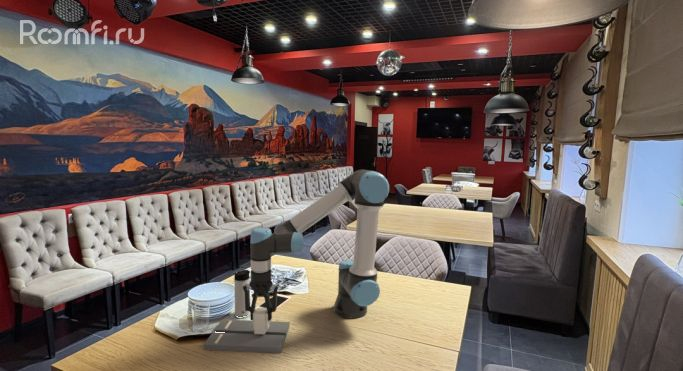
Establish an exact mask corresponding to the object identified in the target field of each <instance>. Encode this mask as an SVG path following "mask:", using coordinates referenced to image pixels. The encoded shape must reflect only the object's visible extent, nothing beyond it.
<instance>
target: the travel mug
mask: <svg viewBox="0 0 683 371" xmlns="http://www.w3.org/2000/svg"><path fill="white" fill-rule="evenodd" d="M250 274H251V270H249V269H241V270H238V271H236V272H234V278H233V279H234V281H233V282H234V283H233V284H234V290H233V291H234V292H233V293H234V316H235V315H236V316H238V317H243V316H247V315H248V314H249V313H250V312H249V311H246V310H245V292H244V290H243V286H244V285H245V284H249V283H250ZM250 289H251V288H250ZM250 289H249V290H250Z"/></svg>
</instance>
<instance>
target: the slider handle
mask: <svg viewBox="0 0 683 371" xmlns="http://www.w3.org/2000/svg"><path fill="white" fill-rule="evenodd" d="M266 312H267V308H257V310H256V312H255V313H254V334H262V335H263V334H265V333H266V331H267V330H266Z"/></svg>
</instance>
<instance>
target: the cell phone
mask: <svg viewBox="0 0 683 371" xmlns="http://www.w3.org/2000/svg"><path fill="white" fill-rule="evenodd" d="M291 299H292V296H290V295H284V294H282V293H280V294H279V293H277V308H276V310H278V309H279V308H281V307H282V306H283V305H284V304H286V303H287V302H288V301H289V300H291ZM270 301H271V306H272V304H273V295H272V296H271V297H270ZM257 308H267V307H266V303H265V301H264V302H262V303H260V304H259V305H258V306H255V309H254V310H257ZM273 313H274V312H272V314H273Z"/></svg>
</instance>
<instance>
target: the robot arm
mask: <svg viewBox="0 0 683 371" xmlns="http://www.w3.org/2000/svg"><path fill="white" fill-rule="evenodd" d="M389 192H390V184H389V181H388V179H387V178H386V177H385V175H383V174H382V173H380V172H379V171H378V172H377V171H374V170H369V169H358V170H355V171H354V172H352V173H351V174H349V175H348V176H346V177H344V179H342V180H341V181H339V182H338V183H337V187H334V189H332V190H330V191H329V192H328V193H326V194H325V195H323V196H322V197H320V198H319V199H317V200H316V201H315V202H313V203H311V204H310V205H309V206H307V207H305V208H304V209H303V210H301V211H299V212H298V213H297V214H296V215H294V216H292V217H291V218H290V219H288V220H287V221H285V222H281V223H278V224H277V225H276V226H275V228H274V229H273V230H274V231H273V233H272V230H271V229H270V228H268V227H257V228H254V229H252V230H251V231H250V242H249V243H250V246H249V247H250V281H249V284H245V285H244V286H243V290H244V292H245V310H246V311H249V312H250V315H249V316H250V319H249V320H250V321H253V329H254V313H255V312H256V310H255V308H256V307H257V300H258V296H259V294H261V295H263V298H264V302H265V303H266V307H267V312H266V330H268V328H269V321H272V319H273V313H275V312H276V308H277V294H278V290H279V288H280V285H279V284H275V283H274V282H272V269H271V268H272V255H273V254H291V253H292V254H293V253H300V252H302V251H303V248H304V236H303V233H304V232H305V231H306V230H307V229H309V228H311V227H312V226H313V225H316V224H317V223H318V222H319V221H321V220H322V219H323V218H325V217H327V216H328V215H329V214H331V213H332V212H334V211H335V210H337V209H338V208H340V207H341V206H343V205H344V204H345V203H347V202H352V201H354V203H353V204H354V205H355V206H356V208H357V215H356V227H355V239H354V240H355V241H354V253H353V259H346V260H342V261H341V262H339V263H338V282H337V283H338V288H337V290H338V291H337V292H338V293H337V296H336V299H335V301H334V304H333V311H334V313H335V314H336V315H337V316H339V317H340V318H341V317H342V318H344V319H346V318H347V319H359V318H362V317H364V316H365V315H367V313H368V307H369V306H371V305H373V304H374V303H375V302H377V300H378V298H379V297H380V293H381V289H380V285H379V283H378V282H377V281H378V270H377V269H376V267H375V260H376V248H377V239H378V238H377V236H378V224H379V213H380V210H381V209H382V208H383V207H384V202H385V200H386V198H387V197H388V196H389ZM249 289H252V291H253V295H252V300H251V293H250V290H249ZM270 289H272V296H273V304H272V306H271V301H270V298H271V297H270V294H269V292H270ZM272 312H273V313H272Z"/></svg>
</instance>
